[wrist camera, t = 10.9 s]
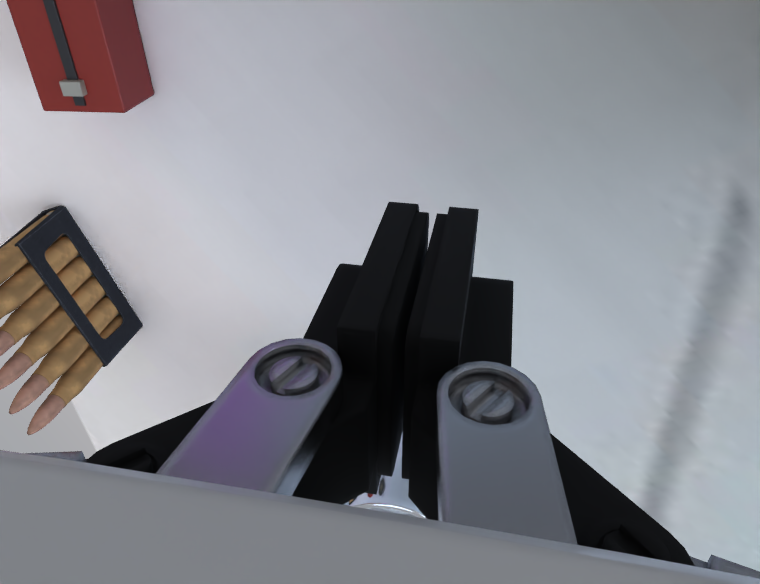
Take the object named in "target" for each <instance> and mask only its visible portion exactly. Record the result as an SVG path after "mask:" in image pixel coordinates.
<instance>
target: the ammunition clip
mask: <svg viewBox="0 0 760 584" xmlns="http://www.w3.org/2000/svg"><path fill="white" fill-rule="evenodd" d="M13 274H14V275H13ZM12 275H13V276H12ZM9 277H10V278H9ZM8 278H9V279H8ZM7 279H8V280H7ZM4 281H5V282H4ZM3 282H4V283H3ZM2 283H3V284H2ZM0 284H2V285H1V286H0V319H1V318H2V317H4V316H5V315H7V314H9V313H10V312H12V311H14V310H15V311H14V312H13V313H12V314H11V315H10V316H9V318H8V319H7V320H6V322H5V323H4V324H3V326H1V327H0V356H1V355H3V354H4V353H5V352H6V351H7V350H8V349H9V348H11V347H12V346H13V345H15V344H16V343H17V342H18V341H19V340H20V339H21V338H23V337H25V336H26V335H28V334H29V335H28V337H27V338H26V340H25V341H24V343H23V344H22V346H21V347H20V348H19V349H18V350H17V351H16V352H15V353H14V355H13V356H12V357H11V358H10V359H9V360H8V361H7V362H6V363H5V364H4V366H3V367H2V368H1V369H0V390H1V389H3V388H4V387H6V386H7V385H9V384H11V383H12V382H14V381H15V380H16V379H18V378H19V377H20V376H21V375H22V374H23V373H24V372H25V371H26V370H27V369H28V368H29V367H31V366H32V365H33V364H34V363H35V362H37V360H39V359H40V358H41V357H43V356H45V355H46V354H47V353H48V354H47V355H46V356H45V357H44V359H43V360H42V362H41V363H40V365H39V367H38V368H37V369H36V370H35V372H34V373H33V374H32V375H31V377H30V378H29V379H28V380H27V382H26V383H25V384H24V385H23V386H22V388H21V389H20V390H19V392H18V393H17V395H16V396H15V398H14V400H13V402H12V404H11V406H10V409H9V413H10V414H14V413H16V412H19V411H20V410H22V409H24V408H25V407H27V406H28V405H29V404H31V403H32V402H33V401H34V400H36V399H37V398H38V397H39V396H40V395H41V394H42V393H43V391H45V390H46V388H48V387H49V386H50V385H51V384H52V383H53V382H54V381H55V380H56V379H57V378H59V377H60V376H61V378H60V379H59V380H58V382H57V384H56V386H55V388H54V389H53V391H52V392H51V393H50V394H49V395H48V397H47V399H46V400H45V401H44V402H43V403H42V405H41V406H40V407H39V409H38V410H37V412H36V413H35V415H34V417H33V418H32V420H31V422H30V424H29V427H28V431H27V434H28V435H31V434H34V433H36V432H37V431H39V430H40V429H42V428H43V427H45V426H46V425H47V424H48V423H50V421H52V420H53V419H54V418H55V417H56V416H57V415H58V413H59V412H60V411H61V410H62V409H63V408H64V407H65V406H66V405H67V404H68V403H69V402H70V401H71V400H72V399H73V398H74V397H75V396H77V395H78V394H79V393H80V392H81V391H82V390H83V389H84V387H85V386H86V385H87V384H88V383H89V381H90V380H91V379H92V378H93V377H94V375H95V374H96V373H97V372H98V371H99V369H100V368H101V367H102V366H103V367H105V366H107V365H108V364H109V363H110V362H111V361H112V359H113V358H114V357H115V356H116V355H117V354H118V353H119V352H120V350H121V349H122V348H123V347H124V346H125V345H126V344H127V343H128V342H129V340H130V339H131V338H132V337H133V336H134V335H135V334H136V333H137V332H138V331H139V329H140V328H141V327H142V323H141V322H140V320H139V319H138V317H137V316H136V314H135V313H134V311H133V309H132V308H131V306H130V305H129V303H128V302H127V300H126V299H125V297H124V296H123V294H122V293H121V291H120V290H119V288H118V287H117V285H116V284H115V282H114V281H113V279H112V277H111V276H110V274H109V273H108V271H107V270H106V268H105V267H104V265H103V264H102V262H101V261H100V259H99V258H98V256H97V255H96V253H95V252H94V250H93V249H92V247H91V246H90V244H89V242H88V241H87V239H86V238H85V236H84V235H83V233H82V232H81V230H80V229H79V227H78V226H77V224H76V223H75V221H74V220H73V218H72V217H71V215H70V214H69V212H68V210H67V209H66V207H63V206H58V207H55V208H52V209H48V210H45V211H42V212H41V213H40V214H39V215H38V216H36V217H35V218H34V219H33V220H32V221H30V222H29V223H28V224H27V225H26V226H24V227H23V228H22V229H21V230H20V231H19V232H17V233H16V234H15V235H14V236H13V237H11V238H10V239H9V240H8V241H7V242H5V243H4V244H3V245H2V246H1V247H0ZM21 304H22V305H21ZM20 305H21V306H20Z"/></svg>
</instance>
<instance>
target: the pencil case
mask: <svg viewBox="0 0 760 584" xmlns="http://www.w3.org/2000/svg"><path fill="white" fill-rule="evenodd" d="M6 1H7V4H8V7H9V9H10V12H11V15H12V18H13V21H14V24H15V27H16V30H17V33H18V36H19V39H20V42H21V45H22V48H23V51H24V54H25V56H26V59H27V62H28V65H29V68H30V71H31V74H32V77H33V80H34V83H35V86H36V89H37V92H38V95H39V98H40V100H41V103H42V106H43V109H44V110H45V111H74V112H117V113H125V112H127V111H128V110H130V109H132V108H133V107H135V106H136V105H138V104H140V103H141V102H143V101H144V100H146V99H148V98H149V97H151V96H153V95H154V92H153V87H152V83H151V79H150V75H149V71H148V66H147V62H146V58H145V54H144V49H143V45H142V41H141V37H140V32H139V28H138V24H137V20H136V15H135V11H134V7H133V3H132V0H6Z"/></svg>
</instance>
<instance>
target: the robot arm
mask: <svg viewBox="0 0 760 584" xmlns="http://www.w3.org/2000/svg"><path fill="white" fill-rule="evenodd" d="M478 210H479V209H469V208H457V207H449V211H448V214H437V216H436V220H435V224H434V228H433V232H432V235H431V239H430V243H429V247H428V228H429V213H425V212H419V206H418V204H409V203H397V202H389V203H388V205H387V208H386V210H385V212H384V215H383V217H382V220H381V222H380V224H379V227H378V229H377V232H376V234H375V236H374V239H373V241H372V243H371V246H370V248H369V251H368V253H367V255H366V258H365V260H364V263H363V265H362V266H361V265H351V264H340V265H339V266H338V268H337V269H336V271H335V273H334V276H333V278H332V280H331V282H330V284H329V286H328V288H327V290H326V292H325V294H324V296H323V298H322V300H321V303H320V305H319V307H318V309H317V311H316V313H315V315H314V317H313V319H312V321H311V323H310V325H309V328H308V330H307V332H306V334H305V336H304V338H303V339H302V338H297V339H285V340H282V341H278V342H275V343H271V344H269V345H268V346H266V347H264V348H262V349H260V350H259V351H257V352H256V353H255V354H254V355H253V356H252V357H251V358H250V359H249V360H248V361H247V362H246V364H245V365H244V366H243V367H242V369H241V370H240V371H239V372H238V373H237V375H236V376H235V377H234V378H233V380H232V381H231V382H230V383H229V384H228V386H227V387H226V388H225V389H224V391H223V392H222V393H221V394H220V395H219V397H218V398H217V399H216V400H215V401H213V402H211V403H208V404H206V405H203V406H201V407H199V408H196V409H194V410H191V411H189V412H187V413H184V414H182V415H179V416H177V417H175V418H172V419H170V420H167V421H165V422H163V423H160V424H158V425H155V426H153V427H151V428H148V429H146V430H143V431H141V432H139V433H136V434H134V435H131V436H129V437H127V438H124V439H122V440H119V441H117V442H115V443H112V444H110V445H108V446H107V447H105V448H103V449H101V450H99V451H97V452H96V453H95V454H93V455H92V456H91V457H90V458H89V459H85V457H84V454H83V452H82V451H77V452H76V451H75V452H49V453H25V454H24V453H16V452H10V451H2V450H0V584H760V572H759V571H756V570H753V569H750V568H748V567H745V566H742V565H739V564H736V563H733V562H731V561H728V560H725V559H722V558H719V557H716V556H714V555H711V556H710V558H709V560H708V562H704V561H701V560H699V559H696V558H693V557H690V556H689V555H688V553H687V551H686V550H685V548H684V547H683V546H682V545H681V544H680V543H679V542H678V541H677V540H676V539H675V538H674V537H673V536H672V535H671V534H670V533H669V532H668V531H667V530H666V529H665V528H663V527H662V526H661V525H660V524H659V523H657V522H656V521H655V520H654V519H653V518H651V517H650V516H649V515H648V514H647V513H645V512H644V511H643V510H642V509H641V508H639V507H638V506H637V505H636V504H635V503H633V502H632V501H631V500H630V499H629V498H627V497H626V496H625V495H624V494H623V493H621V492H620V491H619V490H618V489H617V488H615V487H614V486H613V485H612V484H611V483H609V482H608V481H607V480H606V479H605V478H603V477H602V476H601V475H600V474H599V473H597V472H596V471H595V470H594V469H593V468H591V467H590V466H589V465H588V464H587V463H585V462H584V461H583V460H582V459H581V458H579V457H578V456H577V455H576V454H575V453H573V452H572V451H571V450H570V449H569V448H567V447H566V446H565V445H564V444H563V443H561V442H560V441H559V440H558V439H557V438H555V437H554V436H553V435H552V434H551V433H550V431H549V427H548V423H547V419H546V415H545V411H544V407H543V403H542V399H541V395H540V393H539V391H538V389H537V387H536V385H535V384H534V383H533V382H532V381H531V380H530V379H529V378H528V377H527V376H526V375H525V374H523V373H521V372H520V371H518V370H516V369H515V368H513V367H511V352H512V315H513V281H509V280H499V279H489V278H479V277H472V273H473V262H474V252H475V242H476V232H477V222H478ZM427 249H428V251H427ZM402 432H403V436H402ZM401 436H402V479H409V490H408V497H409V498H410V500H411V501H412V502H413V503H414V504H415V505H416V507H417V508H418V509H419V510H420V511H421V513H422V514H423V515H424V516H425V517H426V518H427V519H424V518H418V517H412V516H406V515H401V514H395V513H389V512H383V511H377V510H371V509H365V508H359V507H353V506H349V501H350V500H352V499H354V498H356V497H358V496H359V495H361V494H363V493H369V494H375V495H377V491H378V487H379V482H380V478H381V475H383V476H390V477H392V475H393V472H394V468H395V463H396V459H397V454H398V450H399V445H400V441H401Z"/></svg>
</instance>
